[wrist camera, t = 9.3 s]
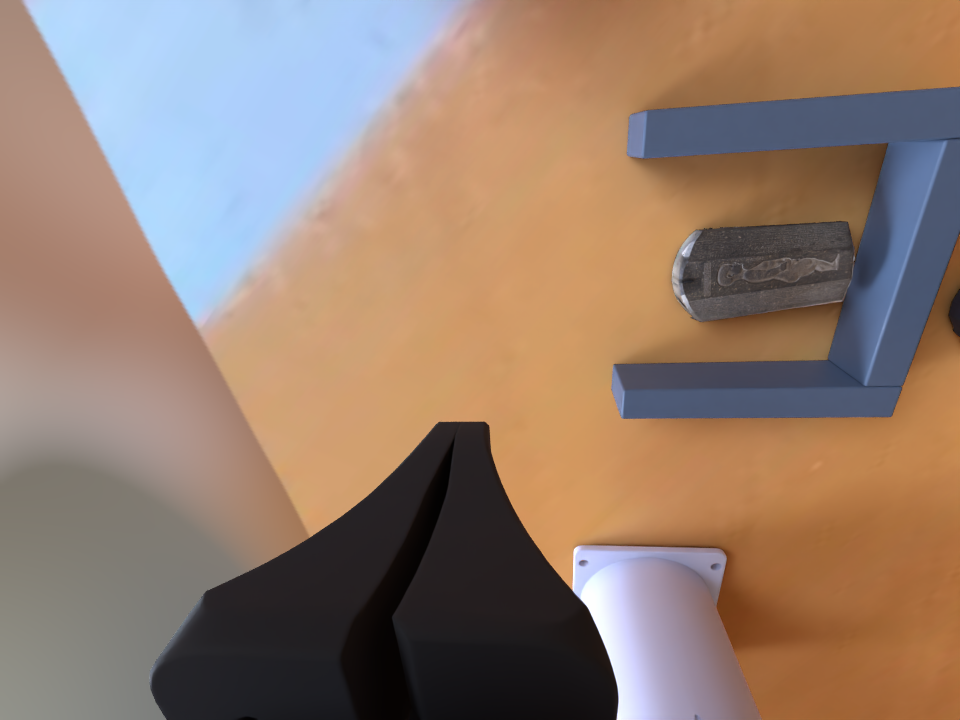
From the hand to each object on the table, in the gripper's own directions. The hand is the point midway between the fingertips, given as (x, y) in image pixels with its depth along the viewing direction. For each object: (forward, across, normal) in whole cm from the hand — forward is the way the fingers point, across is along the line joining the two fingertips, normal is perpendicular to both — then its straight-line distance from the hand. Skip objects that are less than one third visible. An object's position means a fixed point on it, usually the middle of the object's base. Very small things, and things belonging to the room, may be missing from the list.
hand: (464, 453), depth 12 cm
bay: (+9, -10, -2) cm, 14 cm away
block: (+10, -10, -2) cm, 14 cm away
